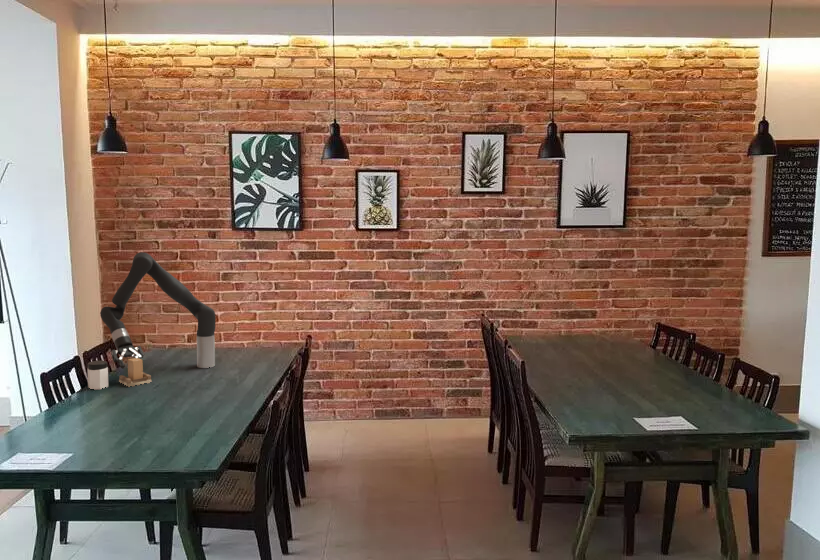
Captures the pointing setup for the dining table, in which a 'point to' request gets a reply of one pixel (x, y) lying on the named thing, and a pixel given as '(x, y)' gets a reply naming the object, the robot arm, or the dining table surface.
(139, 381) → the display stand
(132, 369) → the case
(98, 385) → the jar
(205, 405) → the dining table surface
